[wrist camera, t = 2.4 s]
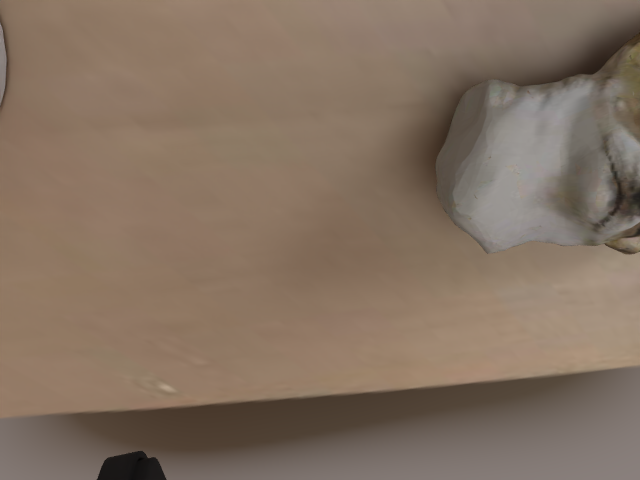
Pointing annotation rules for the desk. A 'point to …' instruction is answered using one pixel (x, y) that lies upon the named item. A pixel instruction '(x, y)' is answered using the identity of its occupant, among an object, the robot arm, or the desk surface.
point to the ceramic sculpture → (548, 160)
